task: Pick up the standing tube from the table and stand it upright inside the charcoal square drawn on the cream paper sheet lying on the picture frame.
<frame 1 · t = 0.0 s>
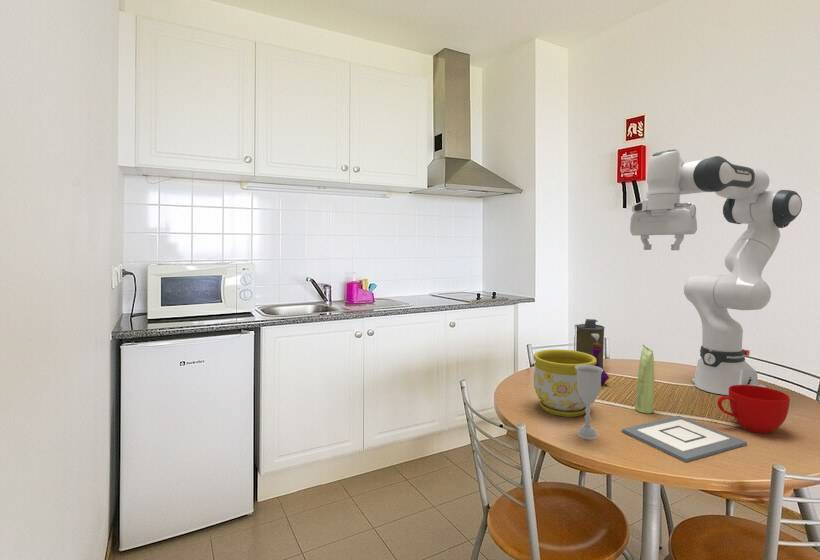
hand: (660, 250, 136), 48 cm above the table, tool pointing down, fingers open, 8 cm apart
flowerpot: (563, 409, 135), on the table
ceramic cup: (748, 429, 120), on the table
canister: (588, 369, 176), on the table
chalice: (587, 436, 117), on the table
perfume bottle: (594, 383, 159), on the table
tube: (644, 411, 133), on the table
picture frame: (681, 438, 115), on the table
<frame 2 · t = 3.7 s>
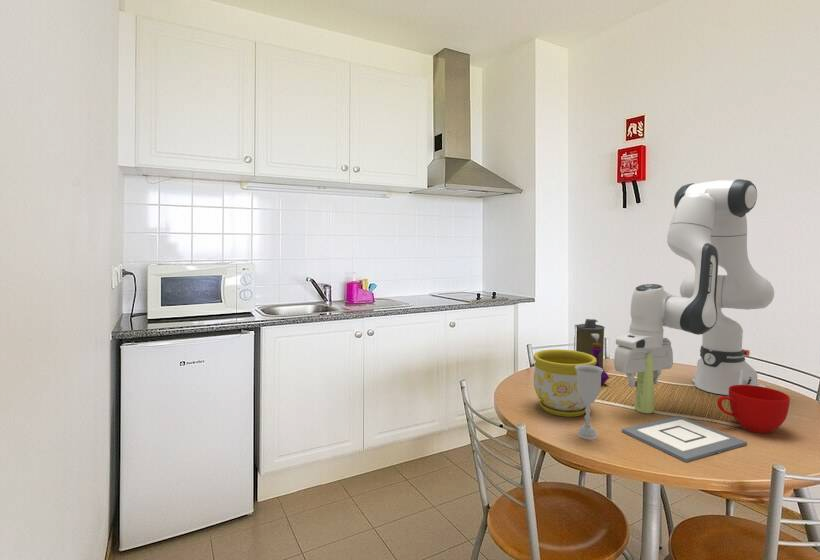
hand: (643, 385, 132), 8 cm above the table, tool pointing down, fingers open, 7 cm apart
tube: (644, 411, 133), on the table, touching arm, gripper
everything else where it was.
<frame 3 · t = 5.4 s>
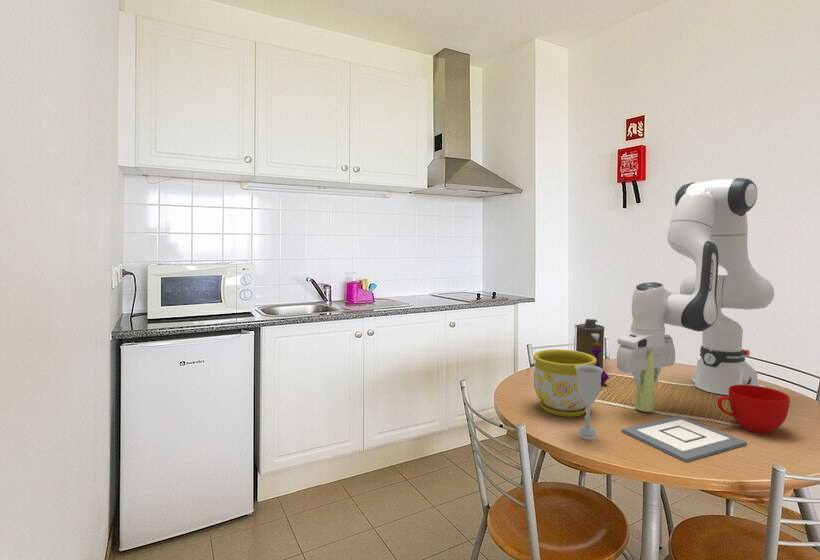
hand: (646, 383, 132), 8 cm above the table, tool pointing down, fingers closed on tube, 5 cm apart
tube: (644, 410, 133), on the table, touching gripper
everything else where it was.
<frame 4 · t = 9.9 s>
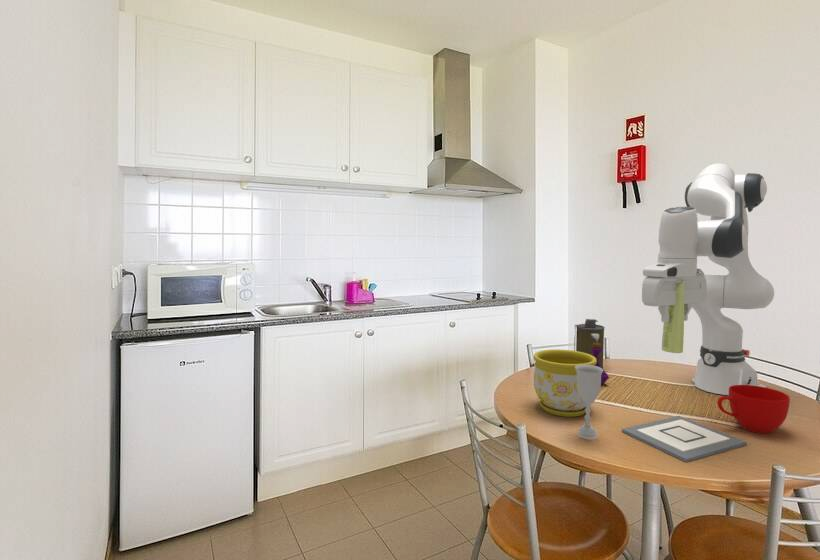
hand: (674, 321, 117), 30 cm above the table, tool pointing down, fingers closed on tube, 5 cm apart
tube: (672, 352, 118), point 21 cm above the table, touching gripper
everything else where it was.
when the fingers open (10 cm above the table, at t = 14.5 s): tube stays where it is, resting on picture frame.
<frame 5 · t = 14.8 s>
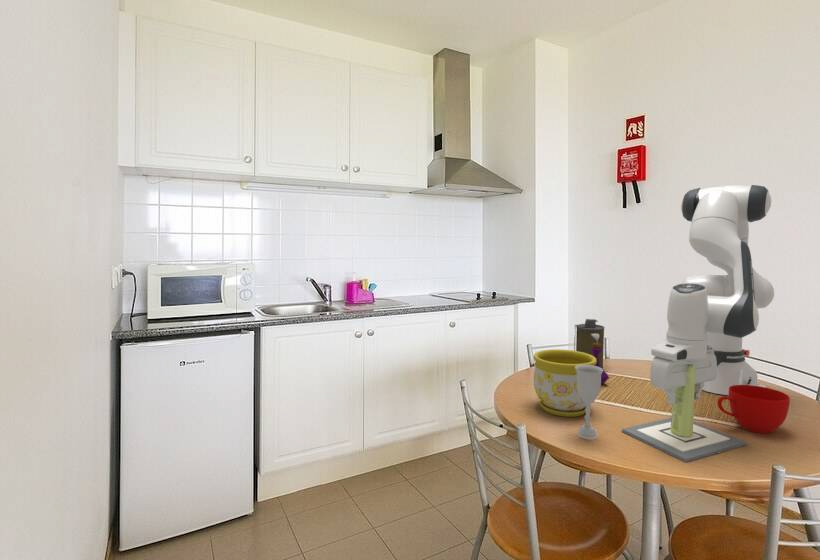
hand: (683, 400, 114), 10 cm above the table, tool pointing down, fingers open, 7 cm apart
tube: (681, 434, 115), point 1 cm above the table, touching picture frame
everything else where it was.
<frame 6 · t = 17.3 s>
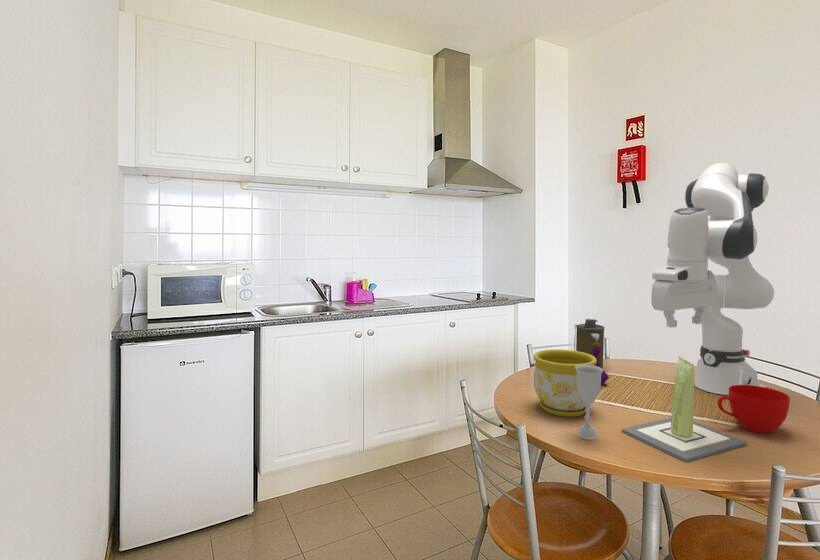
hand: (684, 325, 114), 29 cm above the table, tool pointing down, fingers open, 8 cm apart
nothing on the table moved.
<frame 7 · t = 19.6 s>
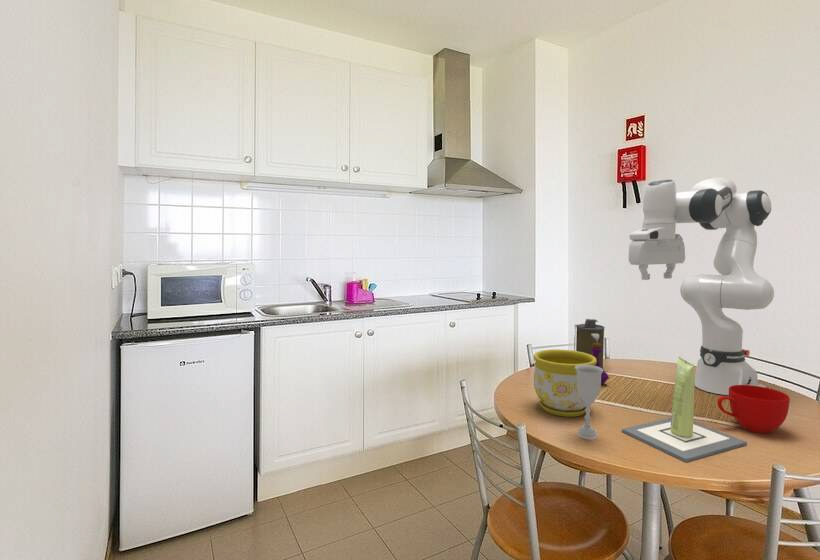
hand: (656, 279, 136), 39 cm above the table, tool pointing down, fingers open, 8 cm apart
nothing on the table moved.
at the end: tube inside the target area on the picture frame (0.1 cm from its centre), point 0.9 cm above the picture frame's base; tube tilted 0°; the gripper is holding nothing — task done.
